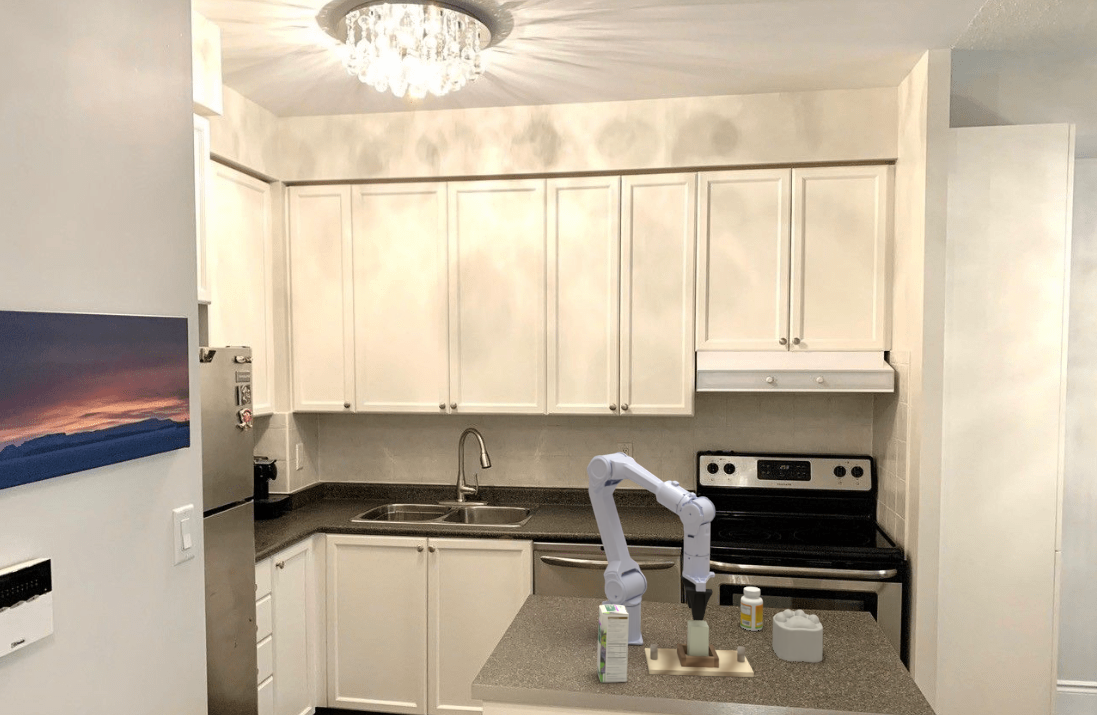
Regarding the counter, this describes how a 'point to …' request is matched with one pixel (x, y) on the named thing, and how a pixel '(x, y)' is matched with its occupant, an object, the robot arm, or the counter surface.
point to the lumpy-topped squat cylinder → (797, 636)
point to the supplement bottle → (751, 609)
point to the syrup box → (612, 643)
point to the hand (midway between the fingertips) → (695, 613)
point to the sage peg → (697, 638)
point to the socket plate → (698, 662)
